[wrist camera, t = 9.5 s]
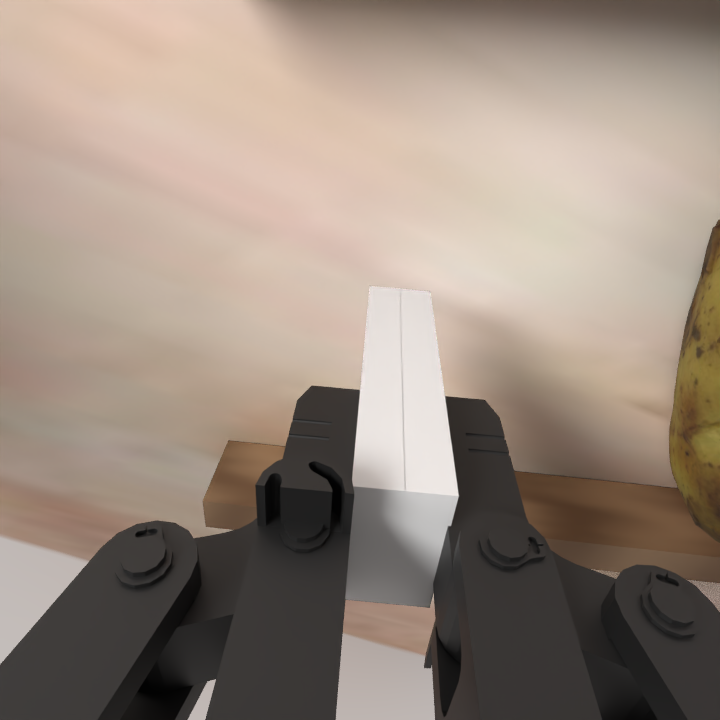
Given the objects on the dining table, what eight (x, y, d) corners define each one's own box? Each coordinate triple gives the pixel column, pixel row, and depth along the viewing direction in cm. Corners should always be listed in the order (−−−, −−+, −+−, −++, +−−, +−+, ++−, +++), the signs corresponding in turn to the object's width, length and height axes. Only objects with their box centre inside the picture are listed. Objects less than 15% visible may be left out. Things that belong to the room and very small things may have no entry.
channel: (230, 465, 24) (193, 558, 19) (177, -173, 12) (59, -279, 8) (889, 536, 23) (998, 648, 19) (1474, -63, 12) (2071, -115, 8)
